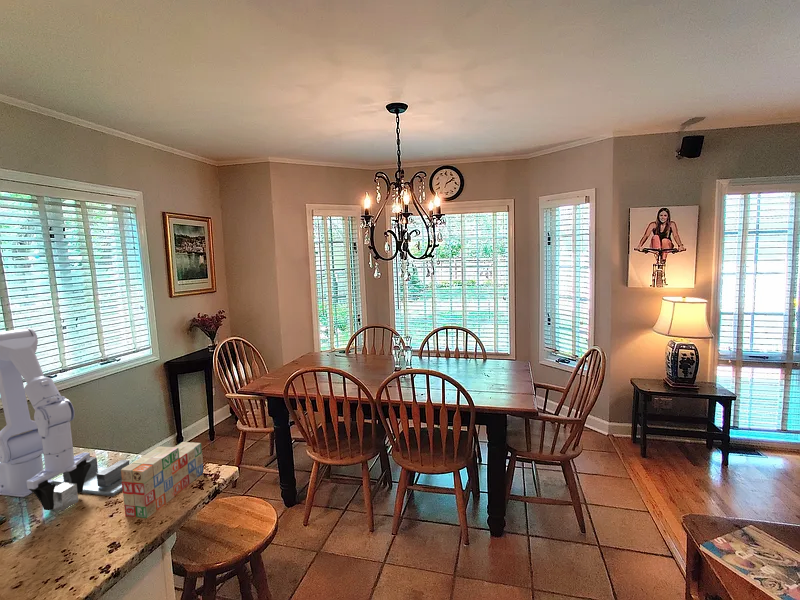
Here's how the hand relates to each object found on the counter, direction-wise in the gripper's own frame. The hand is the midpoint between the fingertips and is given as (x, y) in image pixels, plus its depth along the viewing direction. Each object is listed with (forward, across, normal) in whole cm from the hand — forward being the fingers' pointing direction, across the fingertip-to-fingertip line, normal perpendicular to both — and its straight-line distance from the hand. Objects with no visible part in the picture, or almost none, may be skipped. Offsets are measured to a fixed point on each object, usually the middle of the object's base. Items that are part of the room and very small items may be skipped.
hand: (63, 500), depth 105 cm
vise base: (+1, +11, +1) cm, 11 cm away
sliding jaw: (0, +11, -4) cm, 12 cm away
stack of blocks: (+2, +9, -22) cm, 24 cm away
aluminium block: (+2, 0, 0) cm, 2 cm away
